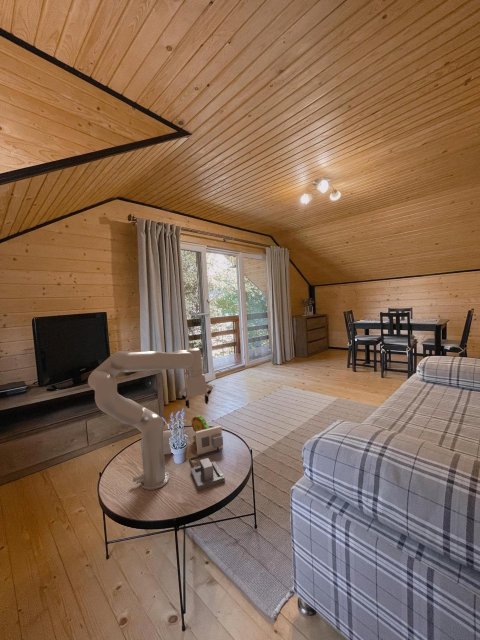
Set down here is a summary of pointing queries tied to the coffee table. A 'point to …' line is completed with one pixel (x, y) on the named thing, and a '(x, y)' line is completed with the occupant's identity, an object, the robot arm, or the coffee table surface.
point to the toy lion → (198, 425)
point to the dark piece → (202, 455)
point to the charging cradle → (205, 484)
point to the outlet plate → (209, 440)
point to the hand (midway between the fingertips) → (197, 405)
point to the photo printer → (166, 442)
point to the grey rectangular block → (206, 469)
